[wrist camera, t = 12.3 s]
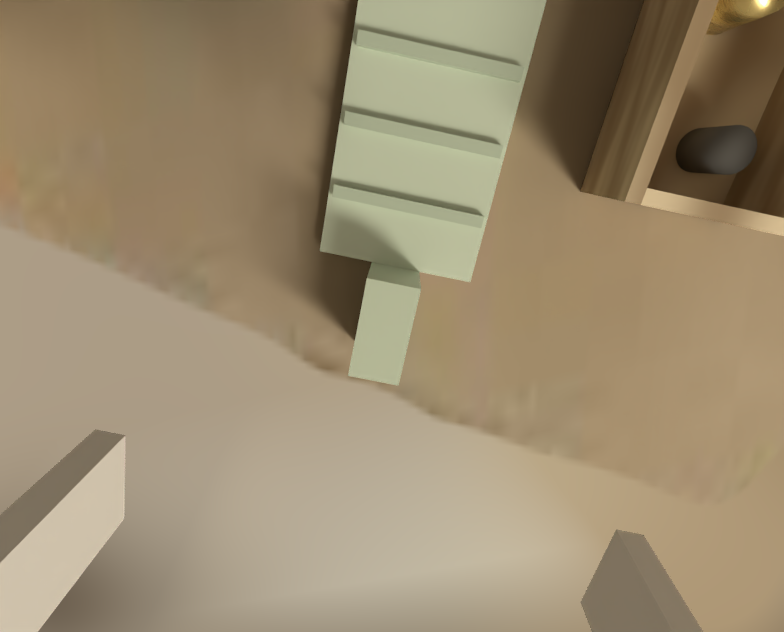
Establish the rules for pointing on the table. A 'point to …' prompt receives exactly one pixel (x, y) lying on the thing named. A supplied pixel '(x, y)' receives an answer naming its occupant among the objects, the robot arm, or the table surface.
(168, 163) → the table surface
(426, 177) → the ridged block with tab
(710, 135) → the rubber stopper
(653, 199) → the tub
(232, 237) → the table surface
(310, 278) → the table surface
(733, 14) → the brass weight
